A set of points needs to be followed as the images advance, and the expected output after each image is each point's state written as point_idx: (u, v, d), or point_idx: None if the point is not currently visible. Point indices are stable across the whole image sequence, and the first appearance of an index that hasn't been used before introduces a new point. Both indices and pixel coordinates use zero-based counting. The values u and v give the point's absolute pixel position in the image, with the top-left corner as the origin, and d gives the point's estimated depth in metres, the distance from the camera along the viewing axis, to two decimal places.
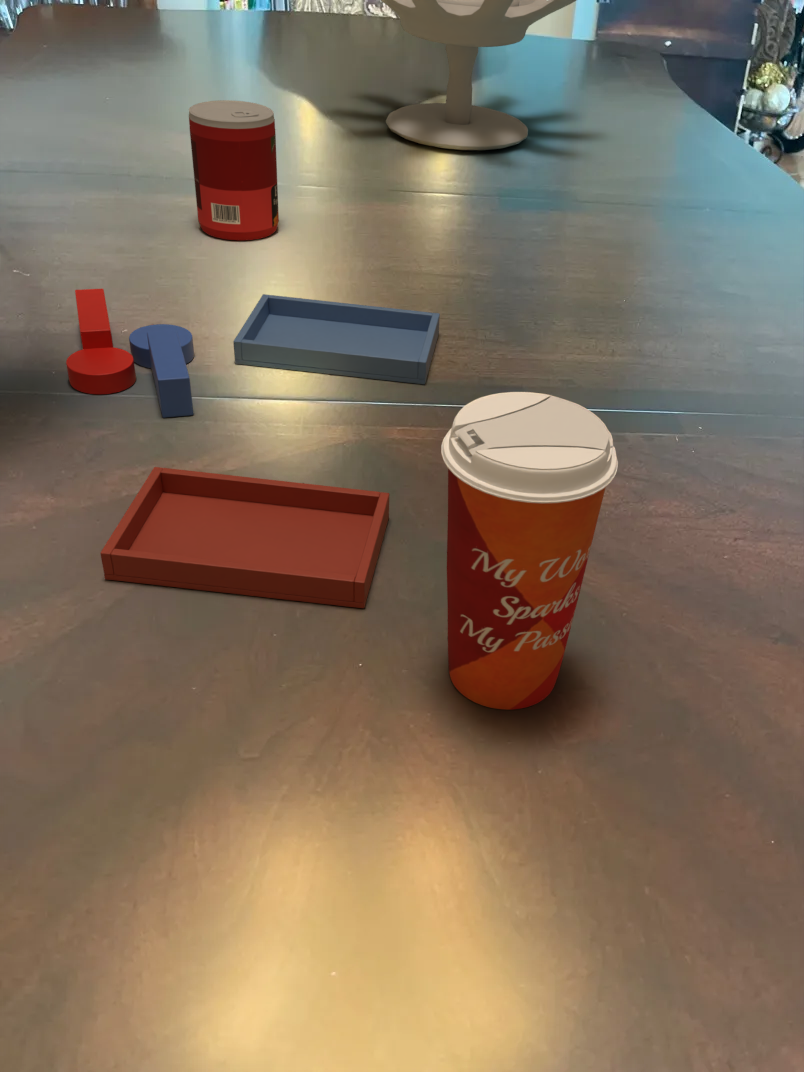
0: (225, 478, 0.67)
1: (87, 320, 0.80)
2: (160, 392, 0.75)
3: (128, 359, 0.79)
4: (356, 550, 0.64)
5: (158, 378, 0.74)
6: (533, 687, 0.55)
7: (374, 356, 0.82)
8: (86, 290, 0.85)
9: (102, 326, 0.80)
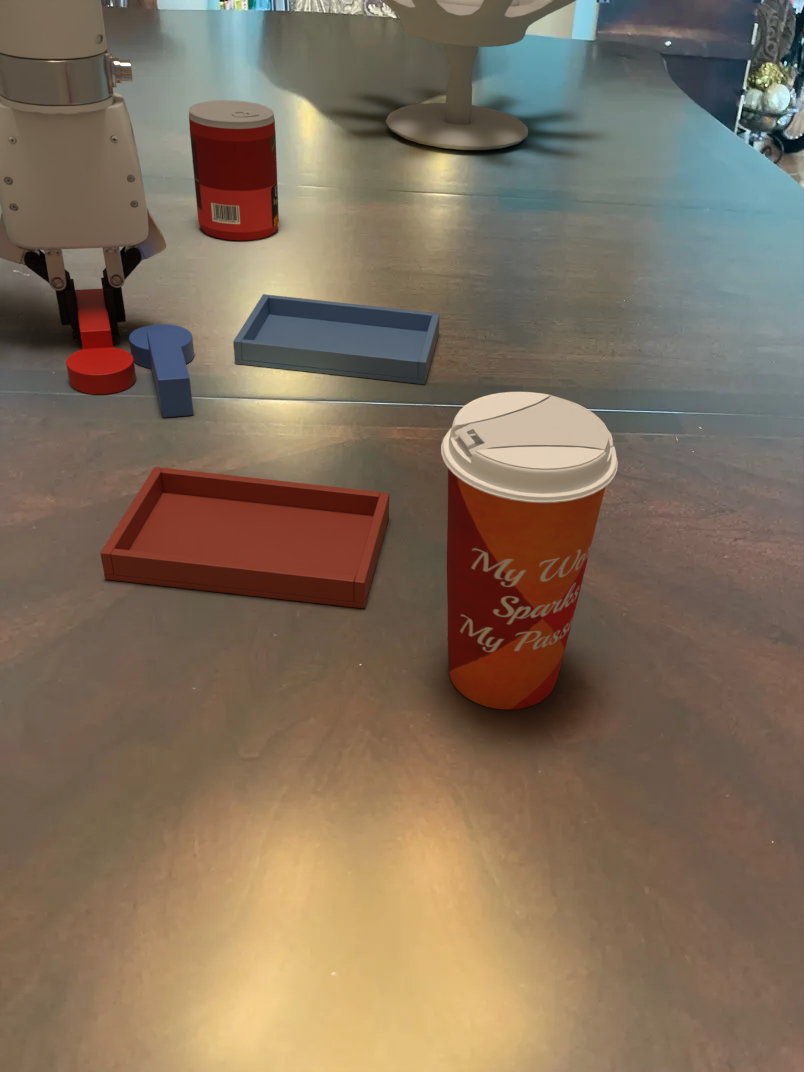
0: (225, 478, 0.67)
1: (87, 320, 0.80)
2: (160, 392, 0.75)
3: (128, 359, 0.79)
4: (356, 550, 0.64)
5: (158, 378, 0.74)
6: (533, 687, 0.55)
7: (374, 356, 0.82)
8: (86, 290, 0.85)
9: (102, 326, 0.80)
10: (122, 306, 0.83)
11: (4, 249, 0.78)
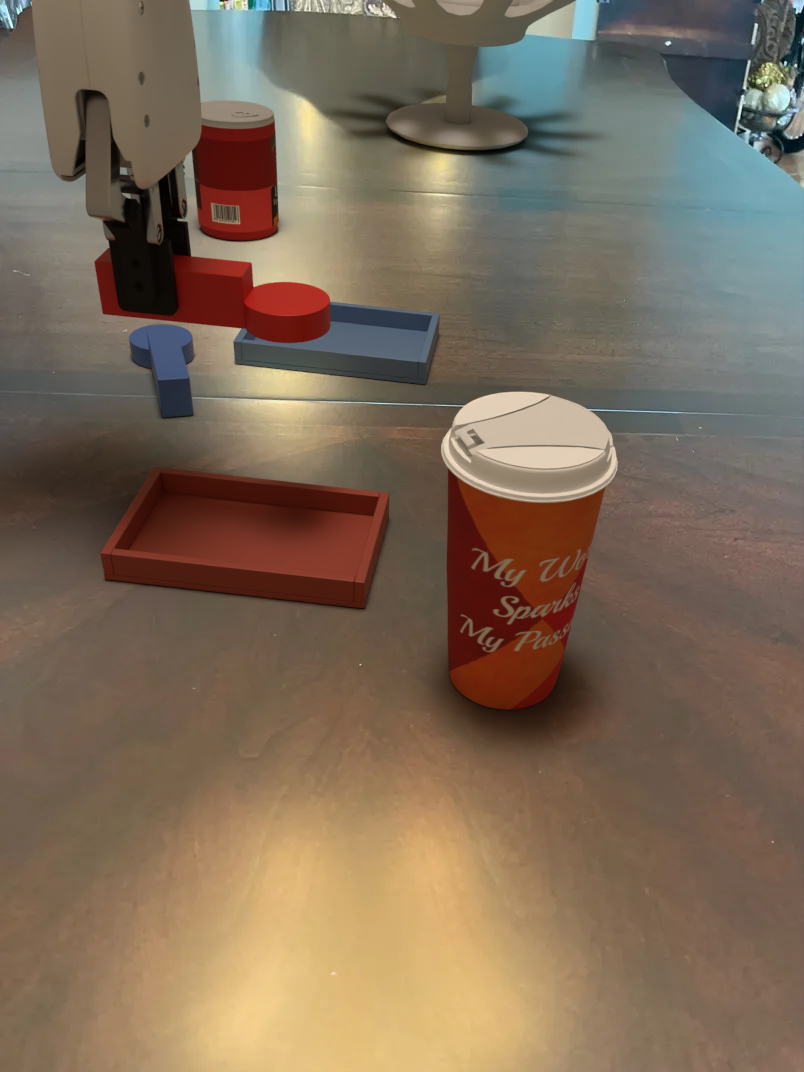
0: (225, 478, 0.67)
1: (210, 268, 0.57)
2: (160, 392, 0.75)
3: (298, 284, 0.60)
4: (356, 550, 0.64)
5: (158, 378, 0.74)
6: (533, 687, 0.55)
7: (374, 356, 0.82)
8: (105, 256, 0.57)
9: (237, 264, 0.58)
10: None
11: (115, 204, 0.50)
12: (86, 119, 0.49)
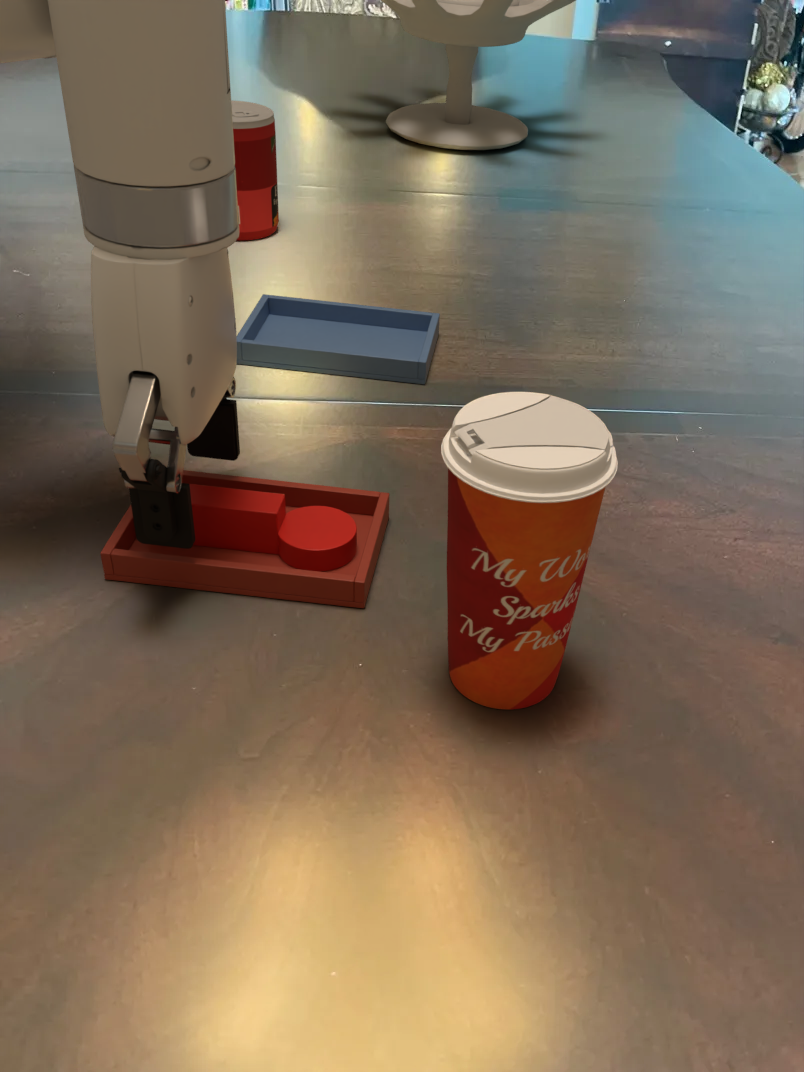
0: (225, 478, 0.67)
1: (247, 504, 0.62)
2: None
3: (326, 509, 0.65)
4: None
5: None
6: (533, 687, 0.55)
7: (374, 356, 0.82)
8: None
9: (271, 497, 0.63)
10: None
11: (141, 447, 0.52)
12: None
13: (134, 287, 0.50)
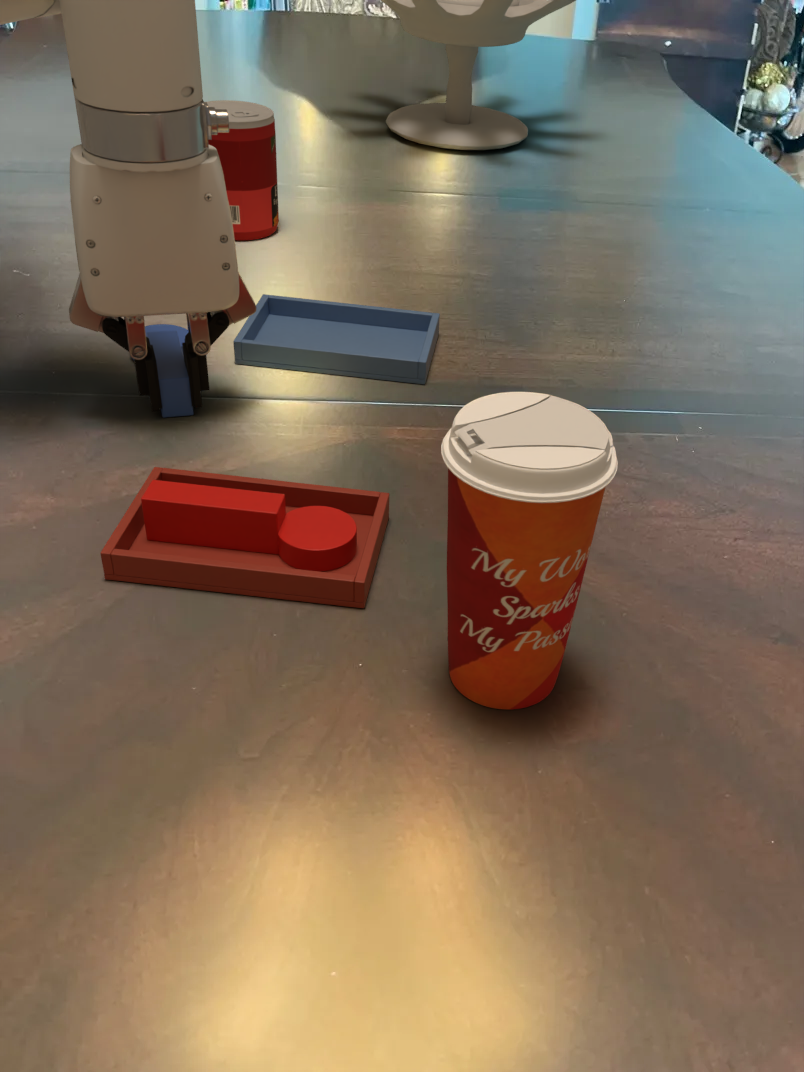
0: (225, 478, 0.67)
1: (247, 504, 0.62)
2: (160, 392, 0.75)
3: (326, 509, 0.65)
4: None
5: None
6: (533, 687, 0.55)
7: (374, 356, 0.82)
8: (150, 491, 0.62)
9: (271, 497, 0.63)
10: (206, 374, 0.75)
11: (80, 316, 0.70)
12: None
13: (71, 173, 0.65)
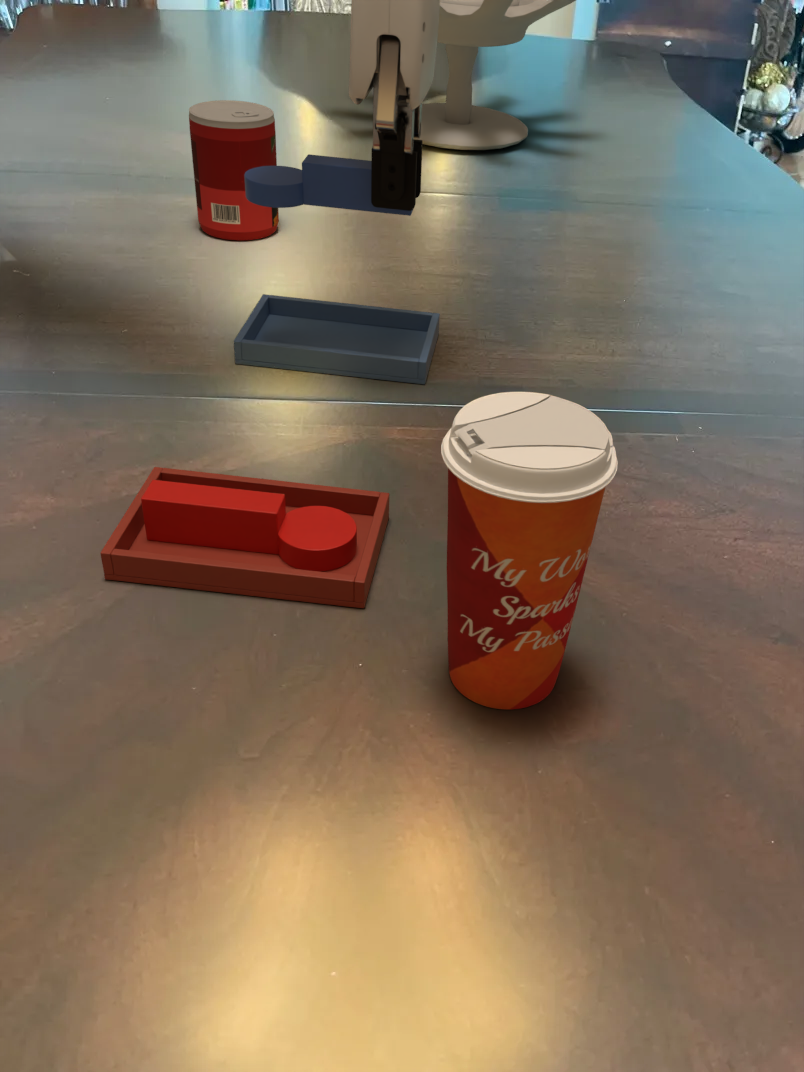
0: (225, 478, 0.67)
1: (247, 504, 0.62)
2: None
3: (326, 509, 0.65)
4: None
5: None
6: (533, 687, 0.55)
7: (374, 356, 0.82)
8: (150, 491, 0.62)
9: (271, 497, 0.63)
10: None
11: (395, 120, 0.70)
12: (381, 56, 0.68)
13: None
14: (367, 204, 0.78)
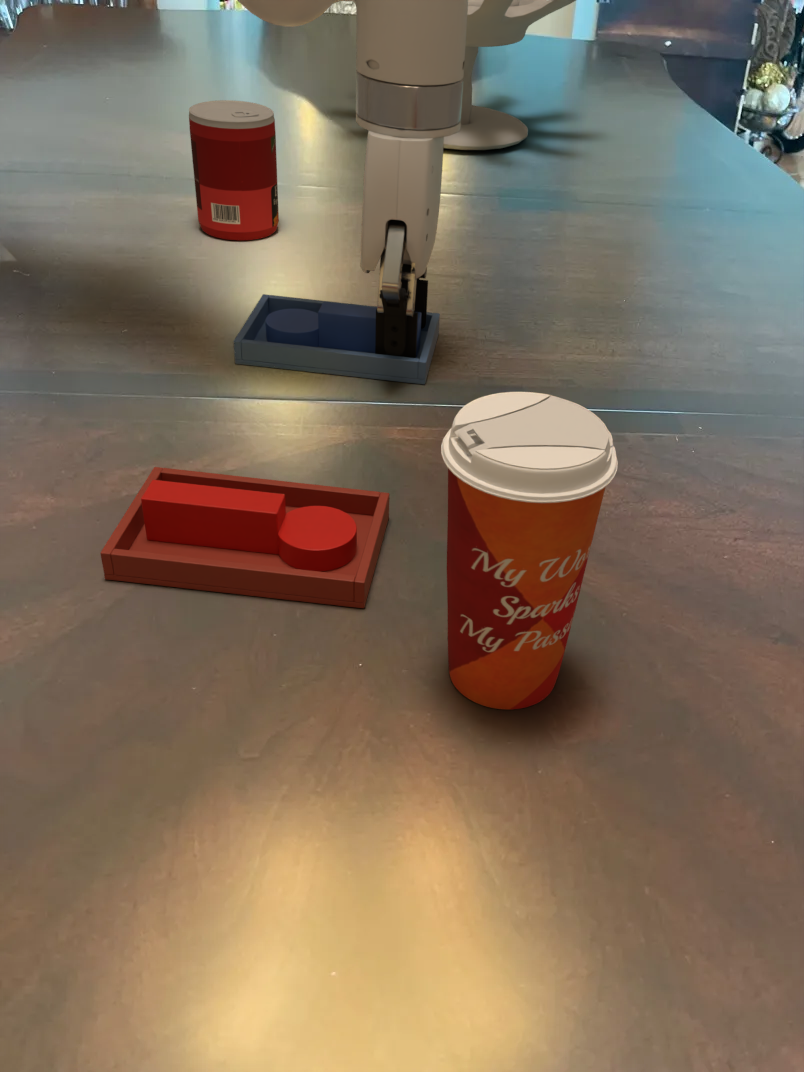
0: (225, 478, 0.67)
1: (247, 504, 0.62)
2: (417, 334, 0.85)
3: (326, 509, 0.65)
4: None
5: None
6: (533, 687, 0.55)
7: (374, 356, 0.82)
8: (150, 491, 0.62)
9: (271, 497, 0.63)
10: None
11: (399, 284, 0.76)
12: None
13: (398, 157, 0.73)
14: None
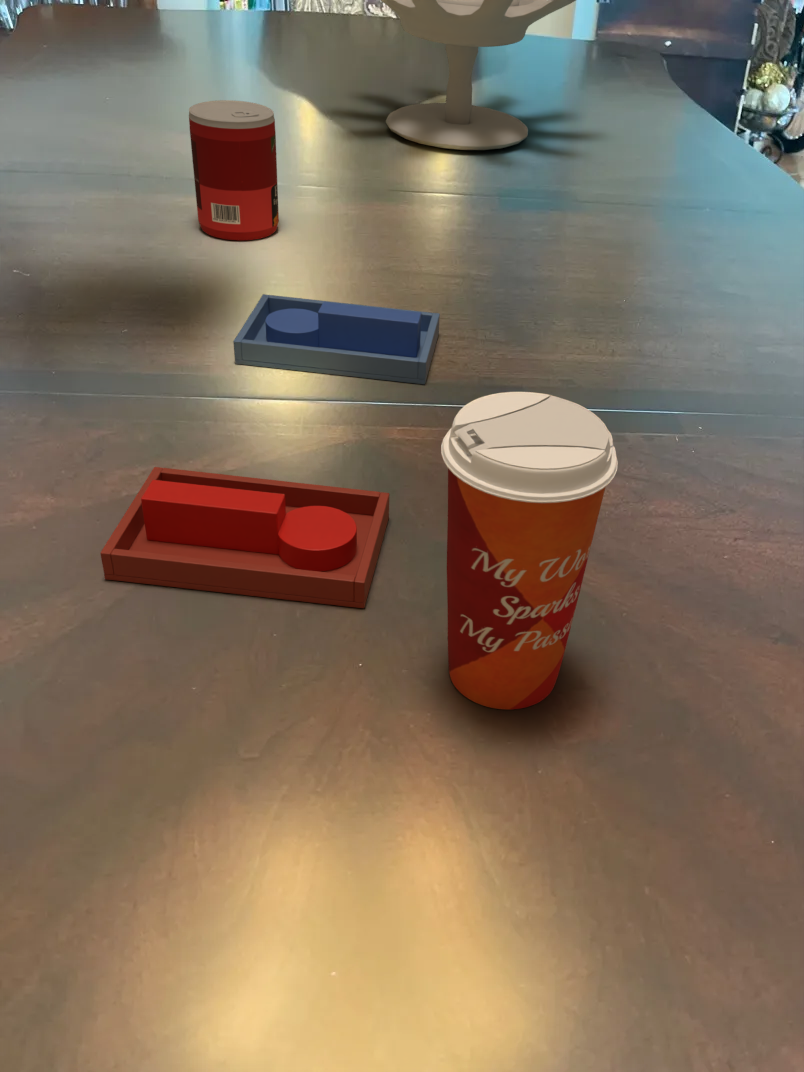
0: (225, 478, 0.67)
1: (247, 504, 0.62)
2: (417, 334, 0.85)
3: (326, 509, 0.65)
4: None
5: (414, 322, 0.84)
6: (533, 687, 0.55)
7: (374, 356, 0.82)
8: (150, 491, 0.62)
9: (271, 497, 0.63)
10: None
11: None
12: None
13: None
14: (377, 347, 0.85)
